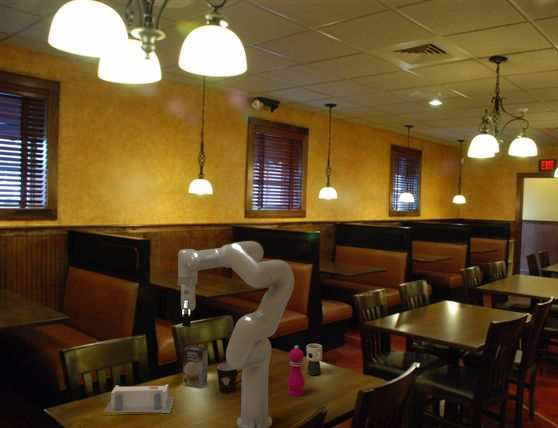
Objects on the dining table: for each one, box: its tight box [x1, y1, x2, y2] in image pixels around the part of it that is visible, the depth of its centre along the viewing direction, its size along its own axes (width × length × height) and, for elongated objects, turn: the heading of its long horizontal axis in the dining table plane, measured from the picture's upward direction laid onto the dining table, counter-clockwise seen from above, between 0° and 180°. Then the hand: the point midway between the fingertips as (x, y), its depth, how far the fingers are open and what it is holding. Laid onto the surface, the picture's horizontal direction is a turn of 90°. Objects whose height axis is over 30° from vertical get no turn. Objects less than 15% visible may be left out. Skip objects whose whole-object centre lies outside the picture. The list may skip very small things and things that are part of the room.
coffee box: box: [182, 344, 209, 389], centre depth 213 cm, size 9×6×16 cm
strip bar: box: [110, 384, 169, 409], centre depth 189 cm, size 7×20×7 cm, turn 95°
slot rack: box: [103, 386, 175, 414], centre depth 189 cm, size 12×24×6 cm, turn 95°
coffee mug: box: [216, 362, 243, 395], centre depth 206 cm, size 12×9×10 cm
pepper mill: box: [286, 345, 306, 397], centre depth 204 cm, size 7×7×20 cm
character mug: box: [306, 343, 323, 376], centre depth 227 cm, size 11×7×13 cm, turn 24°
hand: (187, 323), depth 198 cm, fingers open, 9 cm apart
